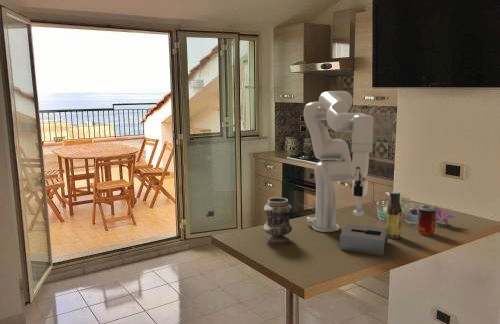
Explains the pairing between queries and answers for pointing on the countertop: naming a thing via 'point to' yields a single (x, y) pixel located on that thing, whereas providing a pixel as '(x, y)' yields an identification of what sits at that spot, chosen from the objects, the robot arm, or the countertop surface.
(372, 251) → the slotted grey box
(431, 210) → the soda can
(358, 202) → the peg
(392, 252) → the countertop surface
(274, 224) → the apothecary jar
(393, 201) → the sauce bottle
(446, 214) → the lily
